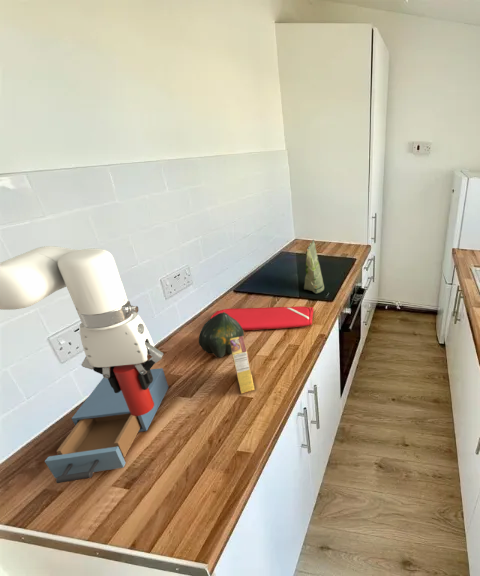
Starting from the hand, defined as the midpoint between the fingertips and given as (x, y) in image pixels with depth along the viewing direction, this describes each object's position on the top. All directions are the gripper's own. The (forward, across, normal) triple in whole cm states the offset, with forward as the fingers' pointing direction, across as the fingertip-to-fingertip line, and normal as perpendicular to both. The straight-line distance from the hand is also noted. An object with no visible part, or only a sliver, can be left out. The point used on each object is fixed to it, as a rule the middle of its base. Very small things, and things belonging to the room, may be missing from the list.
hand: (134, 386), depth 70 cm
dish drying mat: (+23, -18, -61) cm, 68 cm away
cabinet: (+23, +14, -18) cm, 32 cm away
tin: (+7, 0, 0) cm, 7 cm away
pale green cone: (+23, -40, -90) cm, 101 cm away
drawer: (+22, +14, -4) cm, 26 cm away
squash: (+23, -6, -44) cm, 50 cm away
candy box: (+23, -16, -24) cm, 37 cm away
